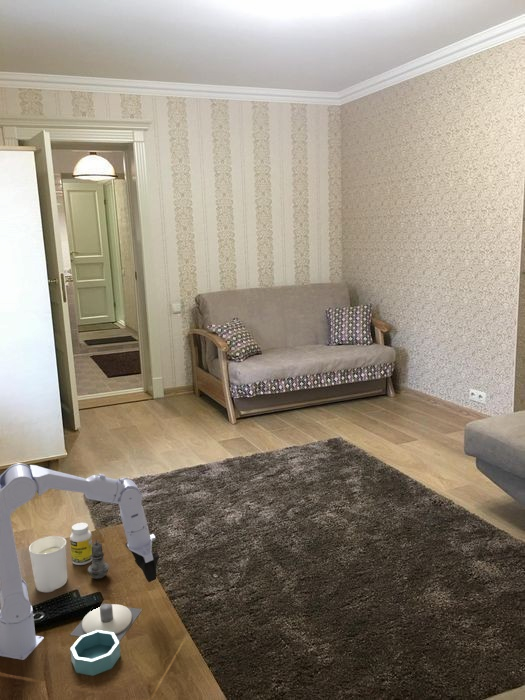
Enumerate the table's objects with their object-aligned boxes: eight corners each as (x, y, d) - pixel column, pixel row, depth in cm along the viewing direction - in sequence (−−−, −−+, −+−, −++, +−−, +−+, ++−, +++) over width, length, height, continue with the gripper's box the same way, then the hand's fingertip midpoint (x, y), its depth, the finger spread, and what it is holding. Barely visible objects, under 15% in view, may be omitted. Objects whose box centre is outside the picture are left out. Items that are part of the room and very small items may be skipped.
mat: (69, 637, 145) (69, 634, 145) (97, 604, 157) (97, 602, 157) (118, 644, 142) (118, 642, 141) (142, 611, 154) (142, 609, 154)
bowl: (64, 672, 133) (62, 656, 132) (88, 642, 142) (86, 628, 142) (105, 680, 130) (104, 663, 130) (126, 649, 140) (125, 634, 139)
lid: (72, 633, 145) (71, 619, 144) (97, 604, 156) (96, 590, 156) (117, 641, 142) (116, 626, 141) (139, 610, 153) (138, 596, 153)
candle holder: (25, 590, 164) (20, 550, 162) (50, 571, 173) (46, 533, 171) (53, 597, 161) (49, 556, 158) (77, 578, 170) (73, 539, 167)
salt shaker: (104, 586, 165) (101, 546, 163) (84, 584, 167) (81, 544, 164) (113, 574, 171) (110, 535, 169) (94, 572, 172) (91, 534, 170)
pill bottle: (68, 565, 176) (65, 531, 174) (76, 554, 182) (73, 521, 180) (89, 566, 176) (86, 531, 174) (96, 554, 182) (93, 521, 180)
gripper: (159, 532, 144) (171, 580, 148) (142, 508, 157) (153, 553, 161) (131, 543, 141) (144, 592, 145) (116, 519, 154) (128, 564, 158)
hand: (147, 572), depth 153 cm, fingers open, 7 cm apart
